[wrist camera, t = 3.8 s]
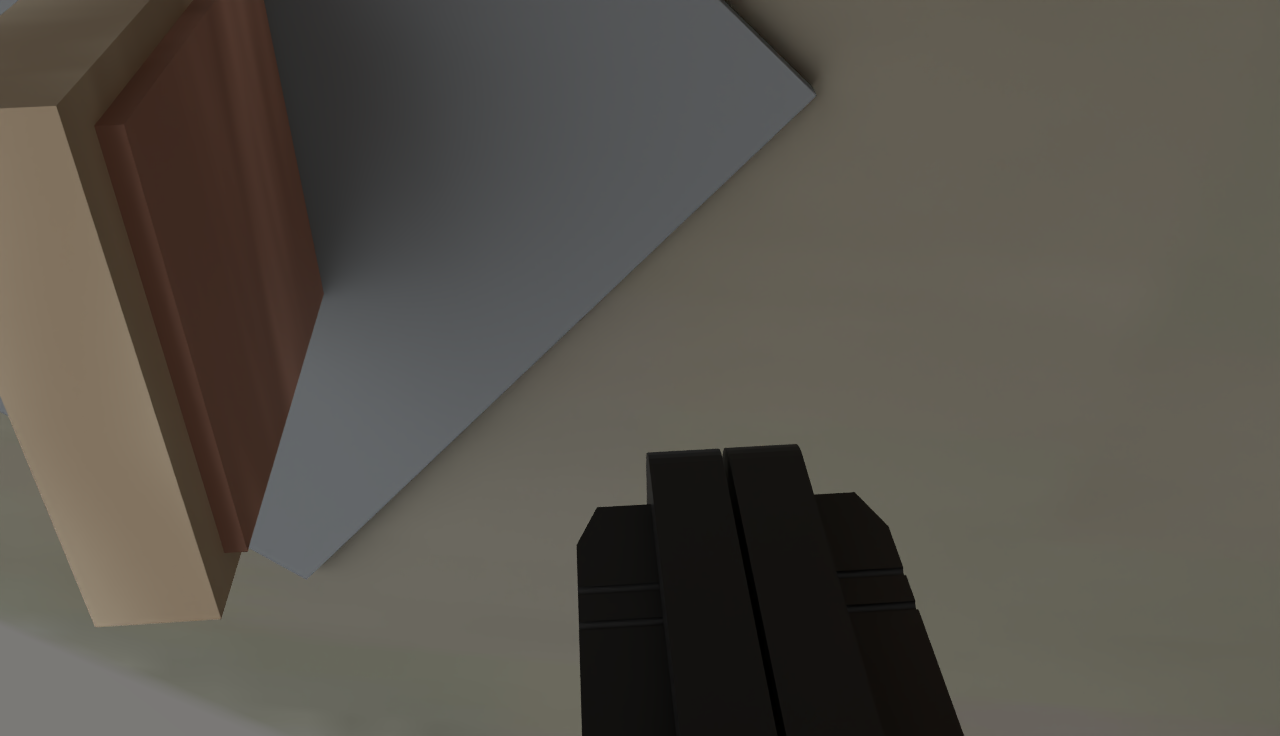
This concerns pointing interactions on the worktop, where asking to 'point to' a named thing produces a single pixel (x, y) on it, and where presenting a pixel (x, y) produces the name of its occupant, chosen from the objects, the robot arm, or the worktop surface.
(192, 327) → the birch tile
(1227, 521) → the worktop surface
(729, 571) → the robot arm
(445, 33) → the rubber mat
